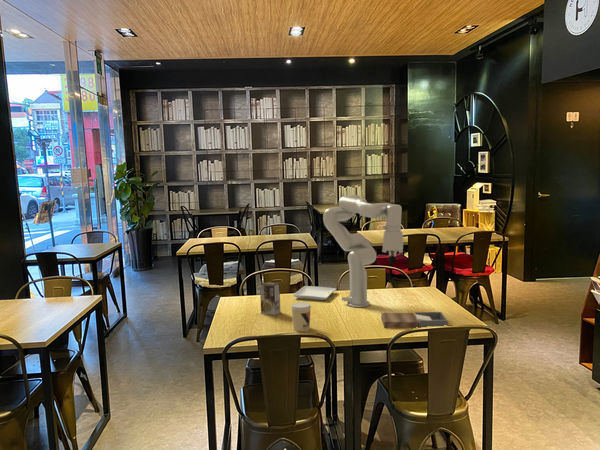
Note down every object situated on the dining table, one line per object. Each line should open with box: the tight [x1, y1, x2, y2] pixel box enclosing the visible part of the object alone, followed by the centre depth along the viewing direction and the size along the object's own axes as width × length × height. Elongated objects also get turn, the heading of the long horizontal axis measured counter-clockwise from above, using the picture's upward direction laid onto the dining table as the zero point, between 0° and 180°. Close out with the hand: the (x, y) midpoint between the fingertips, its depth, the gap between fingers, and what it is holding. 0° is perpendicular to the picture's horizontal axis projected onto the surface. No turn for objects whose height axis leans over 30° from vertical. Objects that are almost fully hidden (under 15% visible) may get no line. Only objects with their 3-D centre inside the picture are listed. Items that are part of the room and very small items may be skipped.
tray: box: [414, 311, 449, 328], centre depth 235 cm, size 14×14×4 cm
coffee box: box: [259, 281, 281, 316], centre depth 256 cm, size 9×6×16 cm
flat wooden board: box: [380, 312, 419, 329], centre depth 236 cm, size 16×14×3 cm
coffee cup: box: [291, 301, 312, 332], centre depth 231 cm, size 9×9×12 cm
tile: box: [414, 314, 431, 323], centre depth 235 cm, size 7×7×2 cm
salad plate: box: [292, 285, 337, 301], centre depth 288 cm, size 21×21×3 cm
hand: (391, 263), depth 248 cm, fingers closed
